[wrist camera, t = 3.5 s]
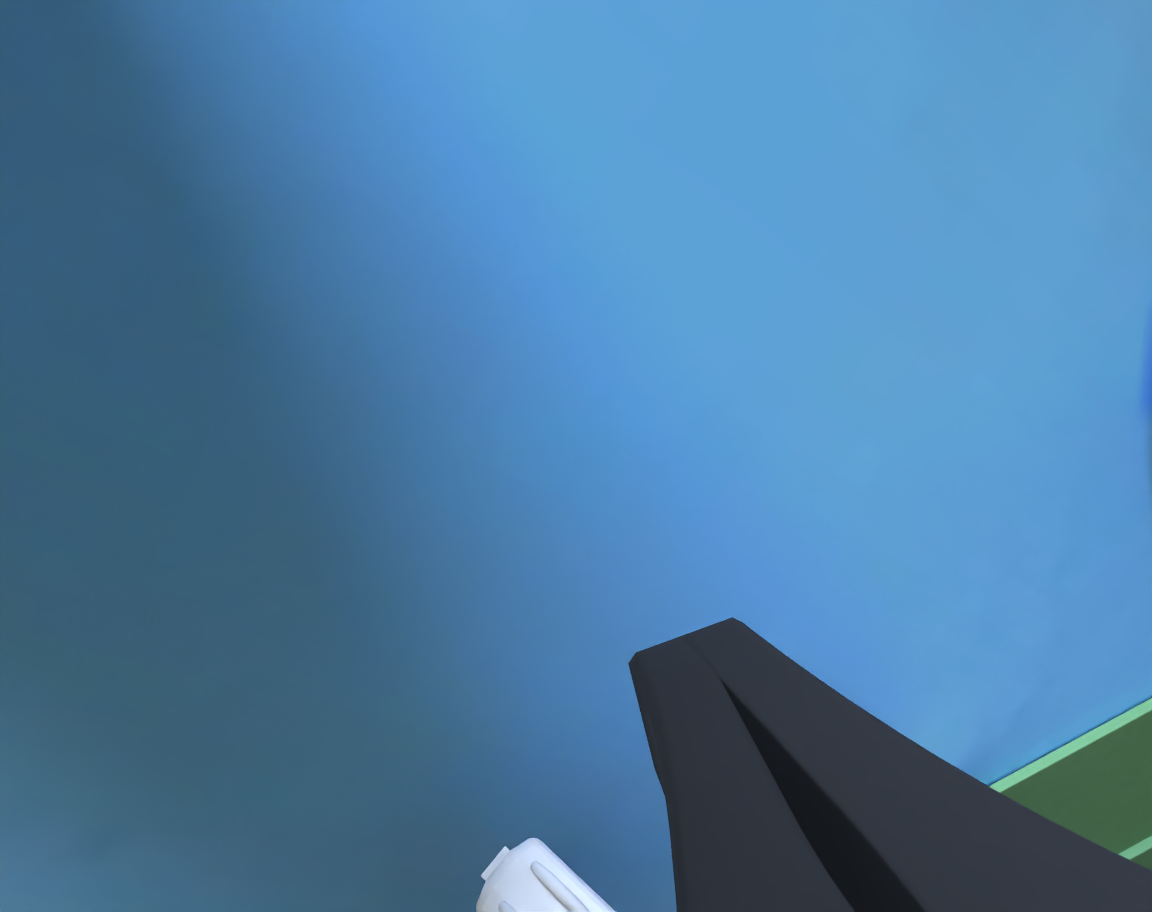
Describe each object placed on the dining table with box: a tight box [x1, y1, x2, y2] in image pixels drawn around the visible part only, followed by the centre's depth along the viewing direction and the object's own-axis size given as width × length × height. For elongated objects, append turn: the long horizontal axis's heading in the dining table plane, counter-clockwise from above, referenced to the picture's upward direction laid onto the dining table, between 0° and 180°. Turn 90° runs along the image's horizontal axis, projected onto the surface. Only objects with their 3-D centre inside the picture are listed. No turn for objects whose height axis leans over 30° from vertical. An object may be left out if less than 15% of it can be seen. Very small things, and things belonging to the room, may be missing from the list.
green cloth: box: [989, 698, 1152, 870], centre depth 24 cm, size 8×11×1 cm
